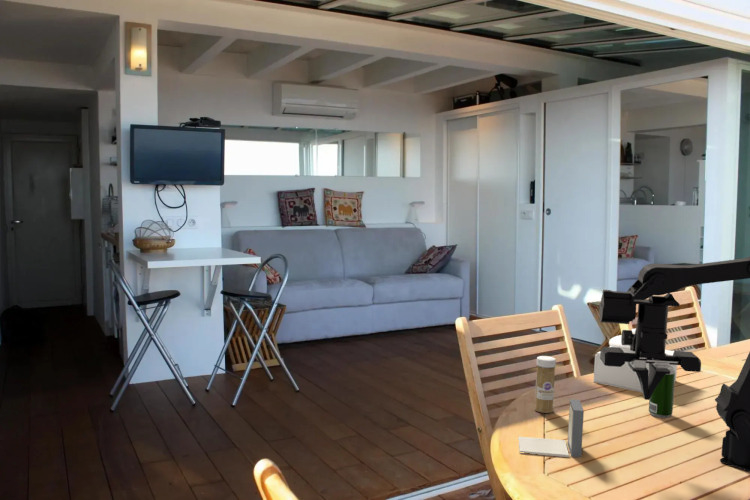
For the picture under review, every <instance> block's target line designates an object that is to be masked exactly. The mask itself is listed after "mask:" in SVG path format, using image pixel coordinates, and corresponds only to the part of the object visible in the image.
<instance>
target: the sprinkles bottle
mask: <svg viewBox="0 0 750 500" xmlns="http://www.w3.org/2000/svg"><path fill="white" fill-rule="evenodd" d="M556 364H557V359H556V358H555V357H553V356H549V355H539V356H537V357H536V377H535V394H534V396H535V402H534V404H535V406H534V411H536V412H537V413H542V414H550V413H551V414H552V413H553V411H554V397H555V380H556V379H555V369H556V366H557V365H556Z"/></svg>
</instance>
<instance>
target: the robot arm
mask: <svg viewBox="0 0 750 500" xmlns="http://www.w3.org/2000/svg"><path fill="white" fill-rule="evenodd" d="M747 279H750V256H747V257H744V258H737V259H729V260H721V261H713V262H705V263H696V264H688V265H682V264H681V265H680V264H668V263H649V264H645V265H644V266H643V267H642V268H641V269H640V271H639V273H638V277H637V279H636V280H635V282H634V283H632V285H631V286H630V287H629V288H628V289H627V291H618V290H616V291H615V290H610V289H603V290H602V294H601V299H600V303H599V307H598V309H599V310H598V311H599V312H598V314H599V318H598V319H599V322H600V323H605V324H606V323H607V324H620V325H629V324H630V323H631V322H634V320H636V326H635V328H636V330H635V334H633V333H632V329H622V330H621V335H622V336H621V344H622V345H629V346H630V350H631V351H635V353H624V352H623V350H622V349H621V348H618V347H609V346H603V347H602V348H601V349H600V351H601V352H600V359H601V361H602V362H603V364H604V365H606V366H614V367H621V366H622V365H624V364H625V362H628V365H629V367H630V368H631V369H632V370H633V371H634V372H636V373H637V376H638V378H639V382H640V385H641V389H642V392H641V393H642V396H643V397H642V398H643V399H644V400H648V401H649V399H650V397H651V395H652V394H653V392H654V390H655V388H656V387H657V385H658V383H659V382H660V381H661V380H662V378H663V377H664V376H665V374H670V372H671V371H670V370H669V369H668V367H669V365H677V366H680V367H681V369H683V371H684V372H697V373H700V372H701V371H702V370H701V369H702V361H701V359H700V358H699V356H697V355H696V354H695V353H693V352H692V351H683V350H682V351H680V350H673V351H674V353H673V355H666V354H665V350H666V343H667V342H666V341H667V339H668V334H667V330H668V329H667V328H668V319H669V317H668V316H669V307H677V308H678V307H680V302H678V301H677V300H676V299H675V298H674V296H673V294H672V293H673V292H678V291H679V290H682V289H685V288H686V287H687V288H688V287H690V286H694V285H704V284H712V283H721V282H729V281H739V280H747ZM663 295H664V296H663ZM637 305H638V307H637ZM636 315H637V319H636ZM640 358H646V359H640ZM646 363H649V370H648V369H647V368H646ZM648 373H649V376H648ZM714 401H715V402H716V406H715V409H716V412H717V414H718V416H719V417H720V419H721V420H723V422H724V423H725V424H726V426H727V427H728V428H729V429H728V430H726V431H725V435H724V437H722V441H721V442H722V444H721V457H722V458H720V459H719V461H720V462H719V463H722V464H725V465H729V466H732V467H734V468H737V469H740V470H744V471H746V472H750V351H749V352H748V355H747V357H746V359H745V361H744V363H743V365H742V368H741V370H740V372H739V374H738V377H737V379H736V380H735V381H734V382H733V383H731V385H727V384H725V383H722V385H721V388H720V392H719V394H718V396H717V397H716V398H715V399H714Z"/></svg>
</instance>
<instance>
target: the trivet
mask: <svg viewBox="0 0 750 500" xmlns="http://www.w3.org/2000/svg"><path fill="white" fill-rule="evenodd" d="M517 440H519V442H518V450H519V451H520V452H524V453H530V454H529V455H535V454H538V456H546V457H548V456H549V457H550V456H552V457H561V458H570V452H569V448H568V445H567V443H566V440H565V439H553V438H543V437H542V438H541V437H530V436H529V437H528V436H518V437H517ZM520 452H519V453H520ZM524 453H523V454H524ZM531 453H532V454H531Z"/></svg>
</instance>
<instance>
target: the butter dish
mask: <svg viewBox="0 0 750 500" xmlns="http://www.w3.org/2000/svg"><path fill="white" fill-rule="evenodd" d="M631 330H632V333H633V334H635V330H636V327H635V328H632V329H631ZM621 336H622V334H621V335H619V334H618V335H616V336H613V337H612V338H610V339H609V342H608V345H609V346H608V347H618V348H621V349H622V350H623V352H624V353H635V351H631V350H630V346H629V345H622V344H621ZM674 351H675V350H670V349H665V354H666V355H673V353H674ZM600 352H601V350H600V351H598V352H596V354H595V355H594V367H593V383H597V384H600V385H605V386H606V385H607V386H611V387H614V388H618V389H623V390H624V389H625V390H628V391H633V392H638V393H642V389H641V385H640V382H639V378H638V376H637V373H636V372H634V371H633V370H632V369H631V368H630V367H629V365H628V362H625V364H624V365H622V366H621V367H614V366H606V365H604V364H603V362H602V361H601V359H600ZM640 359H646V358H640ZM669 366H672V367H674V371H675V382H677V375H678V374H677V373H678V371H677V370H678V365H669ZM646 368H647V369H648V370H649V363H646ZM648 376H649V373H648Z"/></svg>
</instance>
